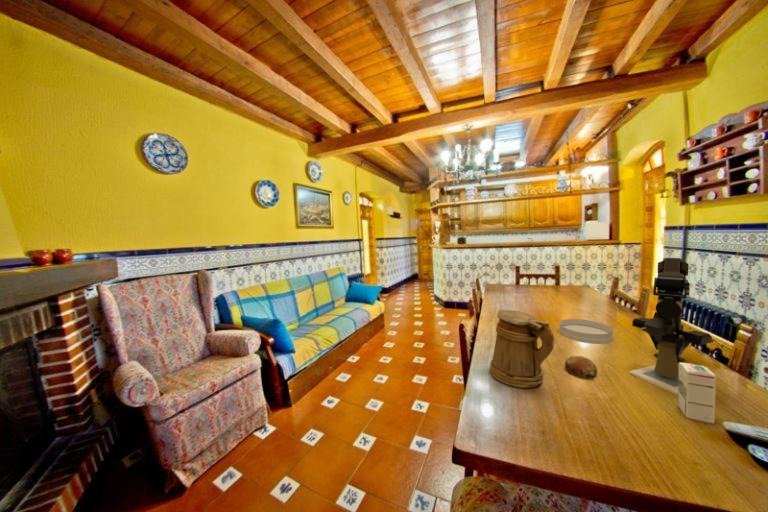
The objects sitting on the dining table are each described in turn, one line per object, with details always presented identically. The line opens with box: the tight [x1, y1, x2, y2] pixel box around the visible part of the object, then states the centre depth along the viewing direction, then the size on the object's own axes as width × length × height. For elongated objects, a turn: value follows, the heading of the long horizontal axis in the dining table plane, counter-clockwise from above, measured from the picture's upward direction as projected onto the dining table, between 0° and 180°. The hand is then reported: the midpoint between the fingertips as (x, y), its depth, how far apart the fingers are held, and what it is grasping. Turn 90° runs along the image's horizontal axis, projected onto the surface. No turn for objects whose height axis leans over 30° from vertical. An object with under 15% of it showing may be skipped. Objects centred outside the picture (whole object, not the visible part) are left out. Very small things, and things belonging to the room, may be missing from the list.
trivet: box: [628, 364, 679, 396], centre depth 93 cm, size 14×14×1 cm
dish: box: [558, 318, 614, 345], centre depth 134 cm, size 22×22×5 cm
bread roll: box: [564, 355, 598, 380], centre depth 101 cm, size 10×10×8 cm
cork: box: [655, 342, 679, 378], centre depth 92 cm, size 6×6×11 cm
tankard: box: [489, 309, 555, 389], centre depth 98 cm, size 18×24×25 cm
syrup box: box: [677, 361, 717, 425], centre depth 75 cm, size 6×6×14 cm
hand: (667, 352), depth 92 cm, fingers closed on cork, 5 cm apart
